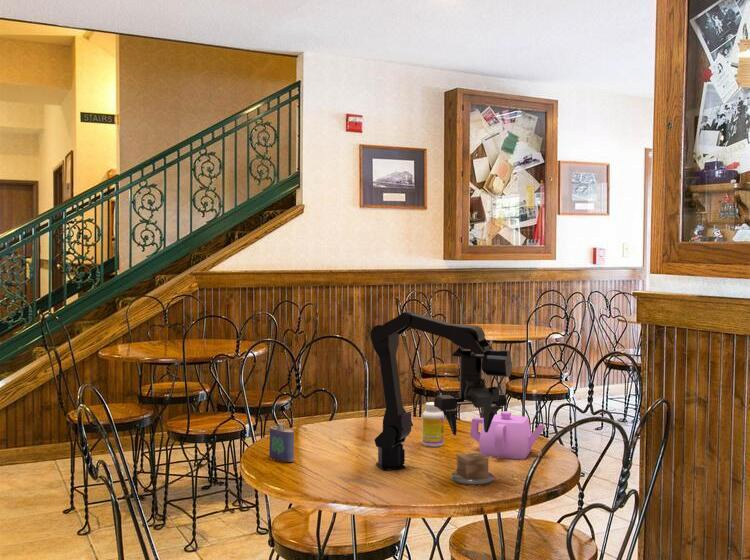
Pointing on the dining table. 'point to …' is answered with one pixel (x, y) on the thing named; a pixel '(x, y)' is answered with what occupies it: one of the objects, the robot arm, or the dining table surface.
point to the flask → (281, 443)
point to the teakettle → (505, 436)
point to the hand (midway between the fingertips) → (470, 433)
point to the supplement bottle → (432, 426)
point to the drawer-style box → (472, 466)
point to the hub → (476, 482)
